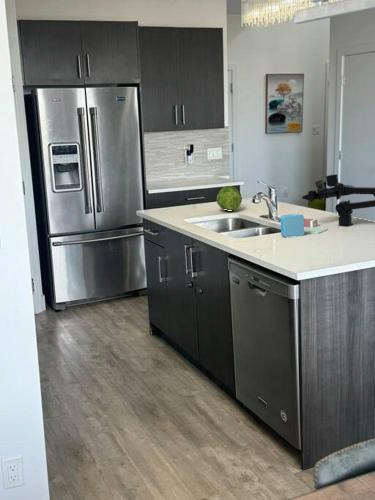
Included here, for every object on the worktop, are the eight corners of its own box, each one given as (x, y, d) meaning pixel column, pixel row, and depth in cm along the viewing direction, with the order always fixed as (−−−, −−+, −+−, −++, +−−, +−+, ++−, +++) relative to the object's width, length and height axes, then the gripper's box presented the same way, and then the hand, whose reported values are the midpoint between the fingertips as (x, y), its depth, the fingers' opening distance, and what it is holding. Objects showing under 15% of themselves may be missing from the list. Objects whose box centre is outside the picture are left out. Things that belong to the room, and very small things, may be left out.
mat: (327, 229, 343) (327, 228, 343) (317, 233, 334) (317, 232, 334) (306, 228, 352) (306, 227, 352) (295, 232, 343) (295, 231, 343)
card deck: (304, 225, 363) (304, 218, 362) (317, 226, 357) (317, 219, 356) (299, 226, 359) (298, 220, 358) (312, 227, 353) (312, 221, 352)
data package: (300, 234, 337) (300, 213, 334) (304, 235, 333) (303, 214, 330) (281, 236, 334) (280, 215, 332) (284, 238, 330) (283, 216, 327)
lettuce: (233, 207, 447) (232, 182, 443) (246, 211, 425) (245, 185, 421) (211, 210, 441) (209, 185, 437) (223, 214, 420) (221, 188, 416)
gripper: (333, 178, 362) (310, 182, 371) (319, 180, 347) (296, 184, 357) (336, 196, 362) (313, 200, 372) (322, 199, 348) (299, 203, 358)
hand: (305, 196), depth 365 cm, fingers open, 9 cm apart
